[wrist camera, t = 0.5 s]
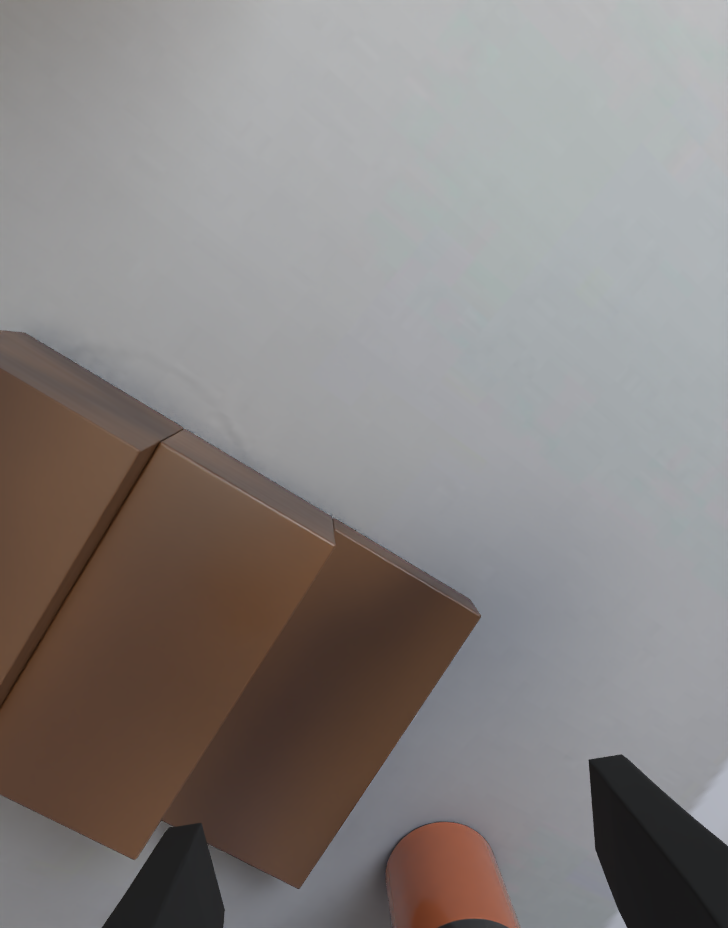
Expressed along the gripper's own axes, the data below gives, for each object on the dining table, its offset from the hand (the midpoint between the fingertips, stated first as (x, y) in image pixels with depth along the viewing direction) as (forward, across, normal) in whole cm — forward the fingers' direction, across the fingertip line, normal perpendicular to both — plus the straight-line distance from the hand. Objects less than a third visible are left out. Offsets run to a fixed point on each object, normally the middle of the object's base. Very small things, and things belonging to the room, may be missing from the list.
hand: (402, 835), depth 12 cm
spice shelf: (+10, +6, 0) cm, 12 cm away
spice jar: (+9, -1, +11) cm, 14 cm away
